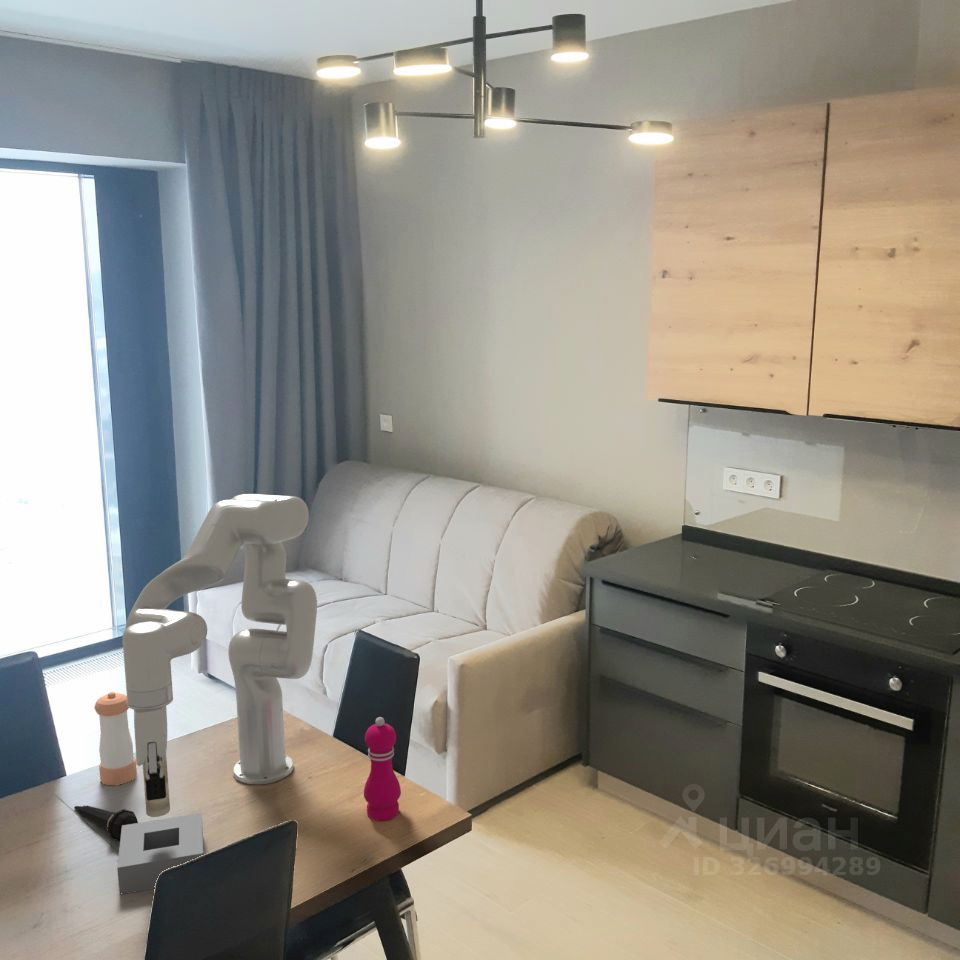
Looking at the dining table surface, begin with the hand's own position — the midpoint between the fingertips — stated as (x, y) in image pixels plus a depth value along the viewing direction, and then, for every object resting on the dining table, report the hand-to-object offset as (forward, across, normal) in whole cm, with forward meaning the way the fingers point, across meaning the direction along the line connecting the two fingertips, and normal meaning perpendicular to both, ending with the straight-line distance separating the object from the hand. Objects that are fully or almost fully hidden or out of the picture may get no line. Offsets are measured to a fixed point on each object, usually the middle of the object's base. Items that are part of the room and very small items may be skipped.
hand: (156, 791), depth 168 cm
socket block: (+14, 0, 0) cm, 14 cm away
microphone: (+15, -18, -10) cm, 26 cm away
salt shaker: (+14, -37, -9) cm, 41 cm away
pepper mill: (+14, -5, +41) cm, 44 cm away
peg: (+4, 0, 0) cm, 4 cm away
